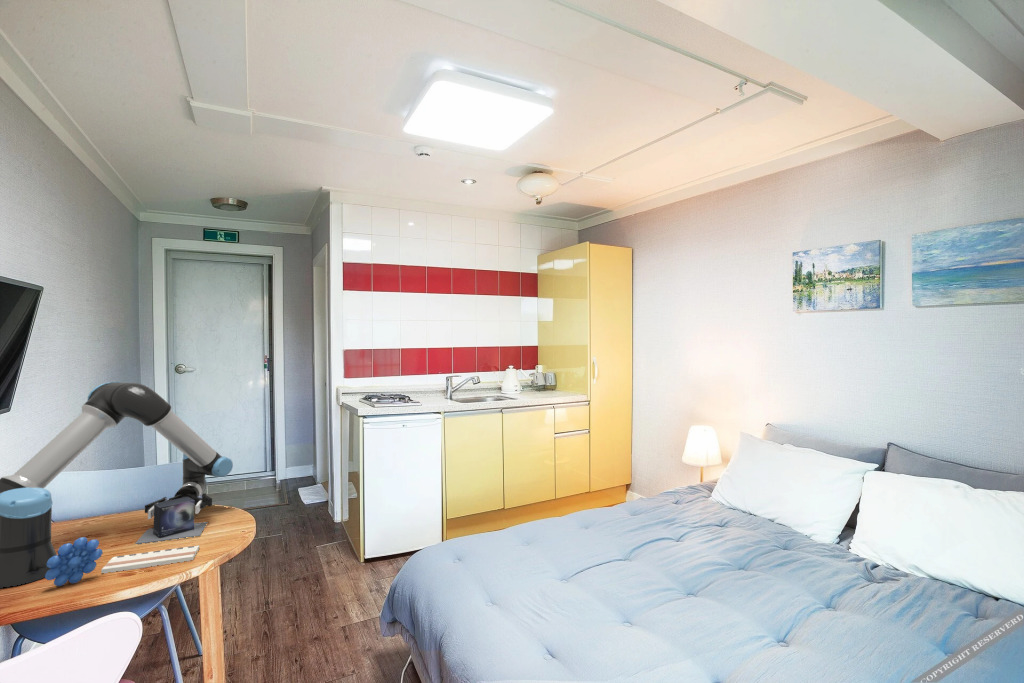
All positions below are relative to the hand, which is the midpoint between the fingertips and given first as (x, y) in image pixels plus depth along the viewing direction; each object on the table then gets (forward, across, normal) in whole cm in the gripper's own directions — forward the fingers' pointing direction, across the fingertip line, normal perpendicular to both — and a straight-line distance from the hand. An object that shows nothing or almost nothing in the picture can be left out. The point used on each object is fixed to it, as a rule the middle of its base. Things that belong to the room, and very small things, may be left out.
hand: (173, 512), depth 165 cm
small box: (-2, 0, -8) cm, 8 cm away
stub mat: (-2, 0, -8) cm, 8 cm away
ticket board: (+22, 0, -8) cm, 23 cm away
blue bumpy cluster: (+29, +16, -8) cm, 34 cm away
